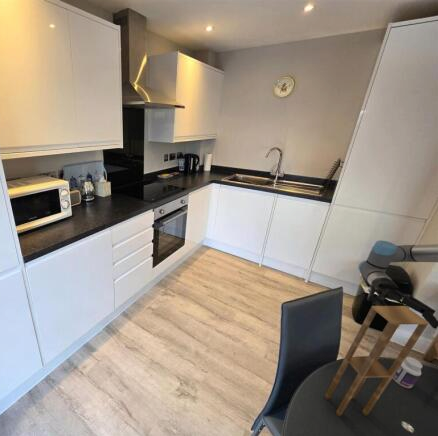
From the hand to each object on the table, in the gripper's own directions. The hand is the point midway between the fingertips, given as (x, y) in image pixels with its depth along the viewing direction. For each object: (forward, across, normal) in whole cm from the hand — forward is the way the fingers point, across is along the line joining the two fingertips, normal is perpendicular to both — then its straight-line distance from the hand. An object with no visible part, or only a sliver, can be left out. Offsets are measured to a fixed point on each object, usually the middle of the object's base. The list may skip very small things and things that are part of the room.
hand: (412, 319), depth 87 cm
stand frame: (+27, +22, -20) cm, 41 cm away
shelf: (+27, +23, +18) cm, 40 cm away
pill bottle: (+10, 0, -20) cm, 22 cm away
